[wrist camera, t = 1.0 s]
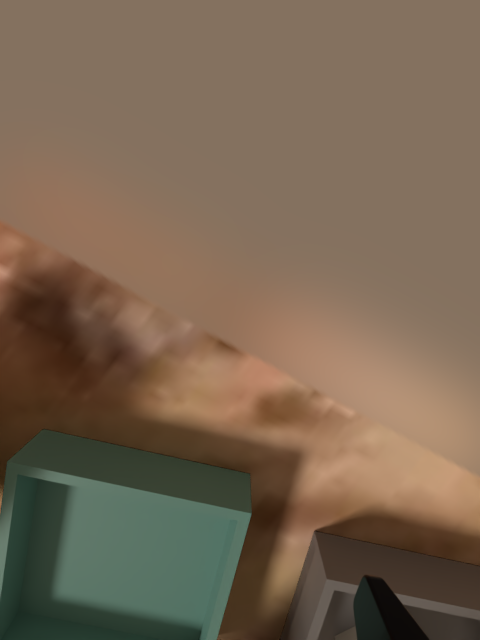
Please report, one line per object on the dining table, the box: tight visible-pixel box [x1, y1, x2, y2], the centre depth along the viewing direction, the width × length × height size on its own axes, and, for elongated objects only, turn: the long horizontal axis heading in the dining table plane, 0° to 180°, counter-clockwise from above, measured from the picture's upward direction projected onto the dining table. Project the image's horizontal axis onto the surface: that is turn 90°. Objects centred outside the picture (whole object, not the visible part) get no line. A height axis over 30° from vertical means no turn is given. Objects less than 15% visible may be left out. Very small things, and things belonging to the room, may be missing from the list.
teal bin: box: [0, 429, 252, 640], centre depth 22 cm, size 13×13×4 cm
